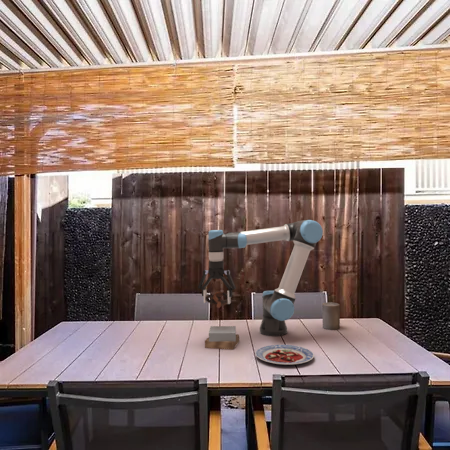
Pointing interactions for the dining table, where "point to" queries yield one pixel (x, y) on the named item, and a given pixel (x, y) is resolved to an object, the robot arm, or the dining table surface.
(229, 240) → the robot arm
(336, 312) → the pillar candle
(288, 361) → the ceramic plate
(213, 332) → the top slab
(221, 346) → the base slab
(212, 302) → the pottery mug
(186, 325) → the dining table surface
